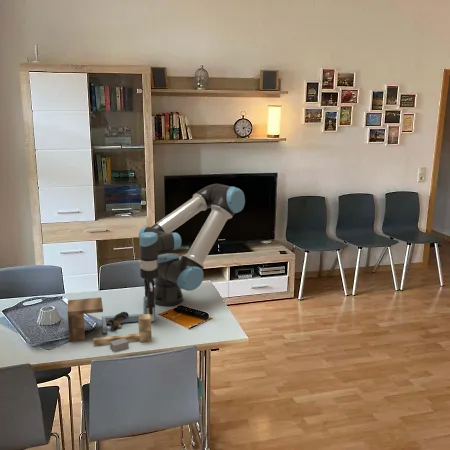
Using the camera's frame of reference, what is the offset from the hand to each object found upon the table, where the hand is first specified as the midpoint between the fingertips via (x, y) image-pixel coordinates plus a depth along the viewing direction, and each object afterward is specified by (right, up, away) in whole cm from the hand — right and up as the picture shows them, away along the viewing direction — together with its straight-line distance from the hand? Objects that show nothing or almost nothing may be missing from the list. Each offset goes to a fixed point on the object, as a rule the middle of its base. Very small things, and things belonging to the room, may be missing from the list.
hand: (149, 318), depth 219 cm
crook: (-8, -2, -6) cm, 10 cm away
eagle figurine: (-13, -3, -7) cm, 15 cm away
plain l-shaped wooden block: (-8, -6, -20) cm, 22 cm away
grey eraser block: (-8, -7, -25) cm, 27 cm away
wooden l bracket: (-24, -4, -13) cm, 28 cm away
